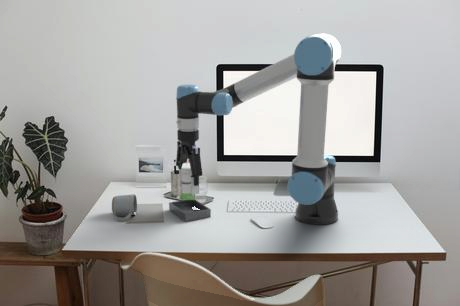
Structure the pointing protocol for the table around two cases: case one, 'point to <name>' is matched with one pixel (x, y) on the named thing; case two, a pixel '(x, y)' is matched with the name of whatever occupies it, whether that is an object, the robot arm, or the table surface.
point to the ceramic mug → (124, 206)
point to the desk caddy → (189, 210)
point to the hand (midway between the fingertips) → (189, 189)
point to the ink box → (186, 182)
